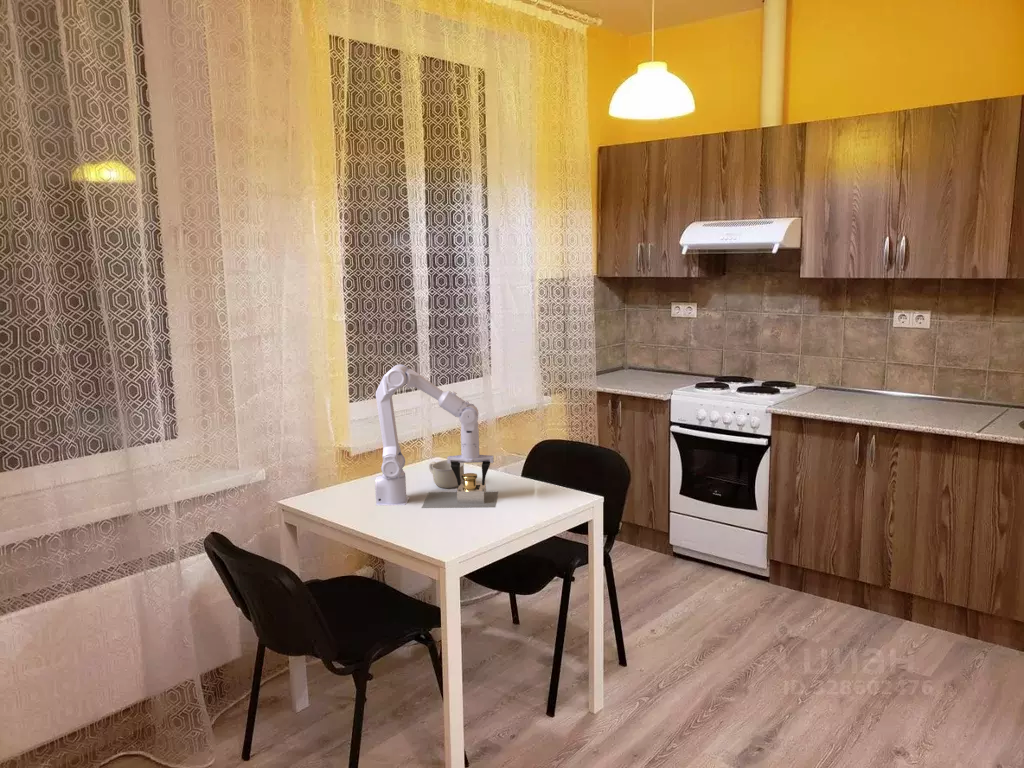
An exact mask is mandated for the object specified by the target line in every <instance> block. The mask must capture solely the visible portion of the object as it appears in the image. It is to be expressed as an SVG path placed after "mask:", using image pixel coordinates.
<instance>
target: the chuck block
mask: <svg viewBox="0 0 1024 768" xmlns="http://www.w3.org/2000/svg"><path fill="white" fill-rule="evenodd" d="M486 484H487V483H486V482H485V485H482V482H481V483H479V482H478V483H477V482H476V490H464V487H463V483H461V485H460V486H457V491H456V492H457V504H481V503H484V501H485V497H486V492H487V488H486V486H487V485H486Z"/></svg>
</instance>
